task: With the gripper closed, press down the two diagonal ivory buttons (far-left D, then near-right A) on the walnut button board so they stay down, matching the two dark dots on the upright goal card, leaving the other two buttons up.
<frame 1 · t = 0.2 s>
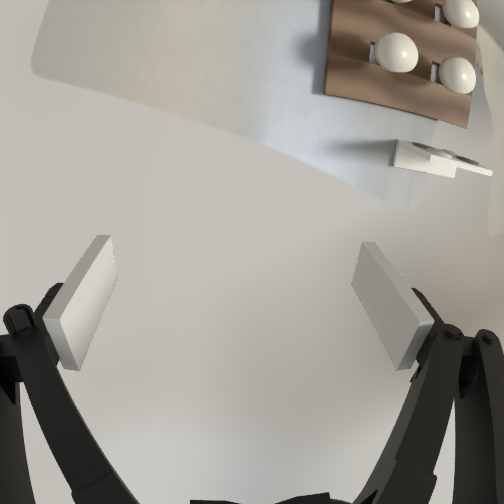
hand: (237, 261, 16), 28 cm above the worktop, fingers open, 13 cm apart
goal card: (429, 149, 42), on the worktop
button D: (453, 74, 32), point 5 cm above the worktop, slide at 0.0 cm
board: (410, 33, 33), on the worktop
button B: (456, 12, 27), point 5 cm above the worktop, slide at 0.0 cm
button C: (392, 53, 31), point 5 cm above the worktop, slide at 0.0 cm
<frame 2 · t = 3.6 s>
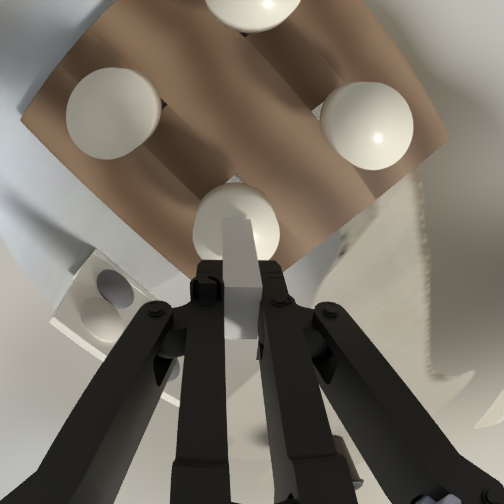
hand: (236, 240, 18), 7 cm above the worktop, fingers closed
goal card: (143, 294, 28), on the worktop
button D: (235, 221, 21), point 4 cm above the worktop, slide at 0.3 cm, touching gripper
coffee cup: (327, 442, 45), on the worktop
board: (239, 104, 21), on the worktop
button B: (360, 121, 18), point 5 cm above the worktop, slide at 0.0 cm
button C: (119, 110, 16), point 5 cm above the worktop, slide at 0.0 cm
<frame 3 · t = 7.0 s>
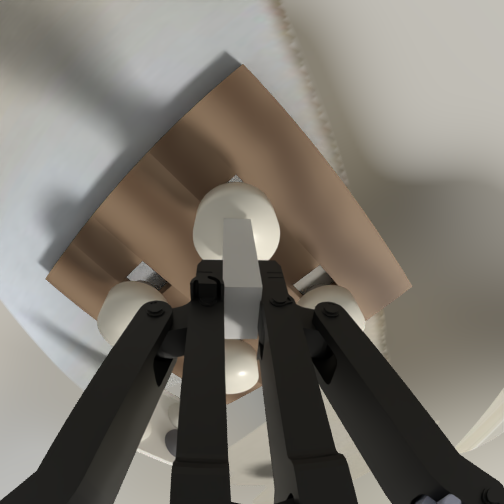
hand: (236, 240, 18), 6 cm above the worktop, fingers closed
goal card: (161, 390, 35), on the worktop
button D: (229, 359, 28), point 3 cm above the worktop, slide at 1.9 cm
board: (230, 278, 27), on the worktop
button B: (325, 313, 24), point 5 cm above the worktop, slide at 0.0 cm
button A: (235, 220, 21), point 4 cm above the worktop, slide at 0.6 cm, touching gripper
button C: (136, 310, 23), point 5 cm above the worktop, slide at 0.0 cm
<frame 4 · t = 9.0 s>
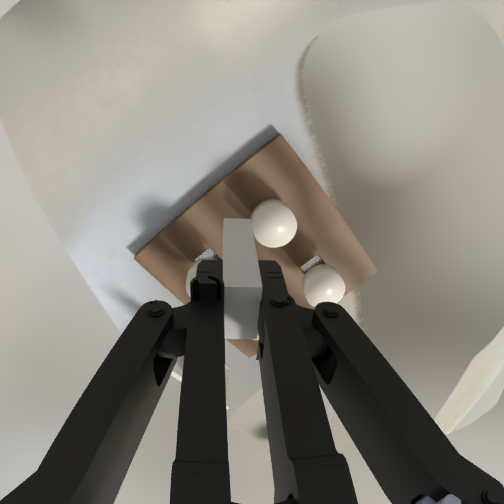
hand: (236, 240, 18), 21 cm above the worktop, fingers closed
goal card: (200, 347, 50), on the worktop
button D: (257, 316, 44), point 3 cm above the worktop, slide at 1.9 cm
board: (262, 261, 44), on the worktop
button B: (321, 282, 41), point 5 cm above the worktop, slide at 0.0 cm
button A: (272, 220, 38), point 3 cm above the worktop, slide at 1.9 cm
button C: (207, 277, 39), point 5 cm above the worktop, slide at 0.0 cm
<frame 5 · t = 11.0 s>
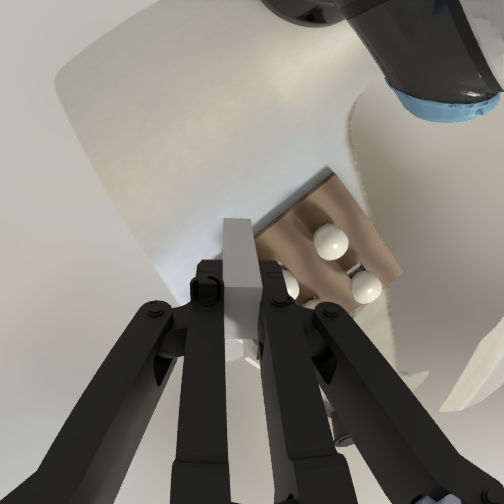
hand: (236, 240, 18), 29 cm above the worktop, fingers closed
goal card: (263, 338, 62), on the worktop
button D: (313, 311, 56), point 3 cm above the worktop, slide at 1.9 cm
coffee cup: (340, 412, 79), on the worktop
board: (317, 268, 55), on the worktop
button B: (363, 283, 52), point 5 cm above the worktop, slide at 0.0 cm
button A: (328, 238, 49), point 3 cm above the worktop, slide at 1.9 cm
button C: (280, 283, 50), point 5 cm above the worktop, slide at 0.0 cm
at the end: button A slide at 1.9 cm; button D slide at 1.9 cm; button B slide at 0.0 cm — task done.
